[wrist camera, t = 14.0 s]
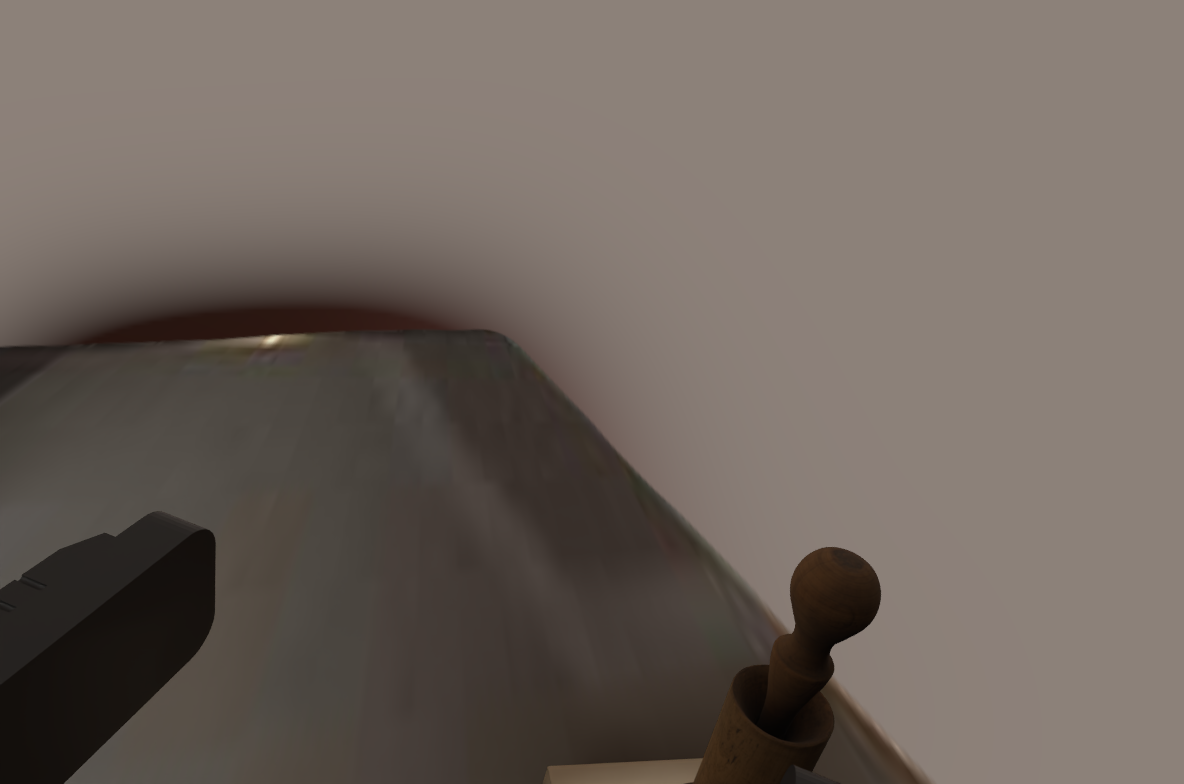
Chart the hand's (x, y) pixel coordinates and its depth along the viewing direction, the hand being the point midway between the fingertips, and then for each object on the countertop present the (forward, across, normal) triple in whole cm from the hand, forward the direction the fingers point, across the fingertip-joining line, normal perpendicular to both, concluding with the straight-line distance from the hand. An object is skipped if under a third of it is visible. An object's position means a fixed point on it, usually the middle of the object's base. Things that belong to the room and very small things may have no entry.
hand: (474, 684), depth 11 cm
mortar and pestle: (+17, -8, +26) cm, 32 cm away
